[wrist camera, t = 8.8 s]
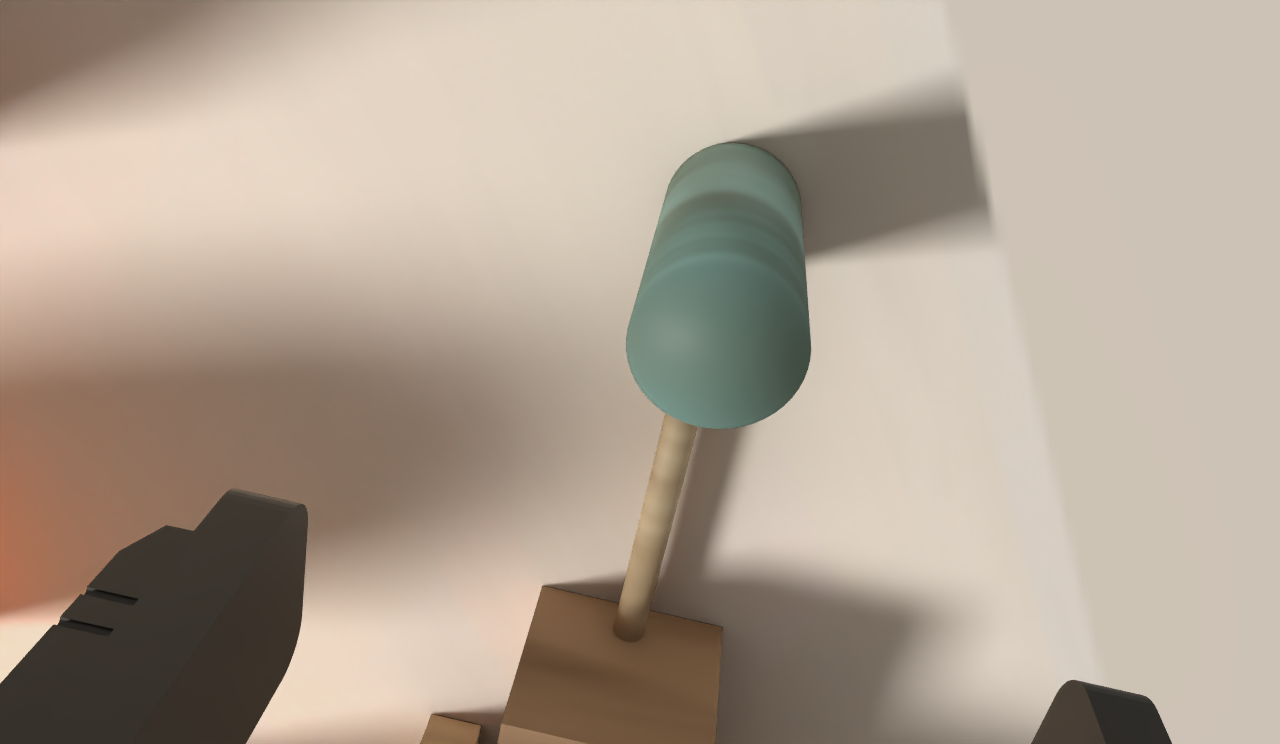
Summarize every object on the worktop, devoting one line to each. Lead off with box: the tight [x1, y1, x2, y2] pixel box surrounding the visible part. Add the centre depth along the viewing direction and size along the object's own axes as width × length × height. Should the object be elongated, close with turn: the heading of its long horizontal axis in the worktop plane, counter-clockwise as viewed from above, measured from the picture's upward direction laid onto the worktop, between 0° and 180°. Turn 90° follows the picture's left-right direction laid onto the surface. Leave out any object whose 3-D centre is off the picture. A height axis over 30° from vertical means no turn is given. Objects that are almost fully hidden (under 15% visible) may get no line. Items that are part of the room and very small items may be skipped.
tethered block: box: [497, 143, 811, 744], centre depth 24 cm, size 18×5×7 cm, turn 168°
